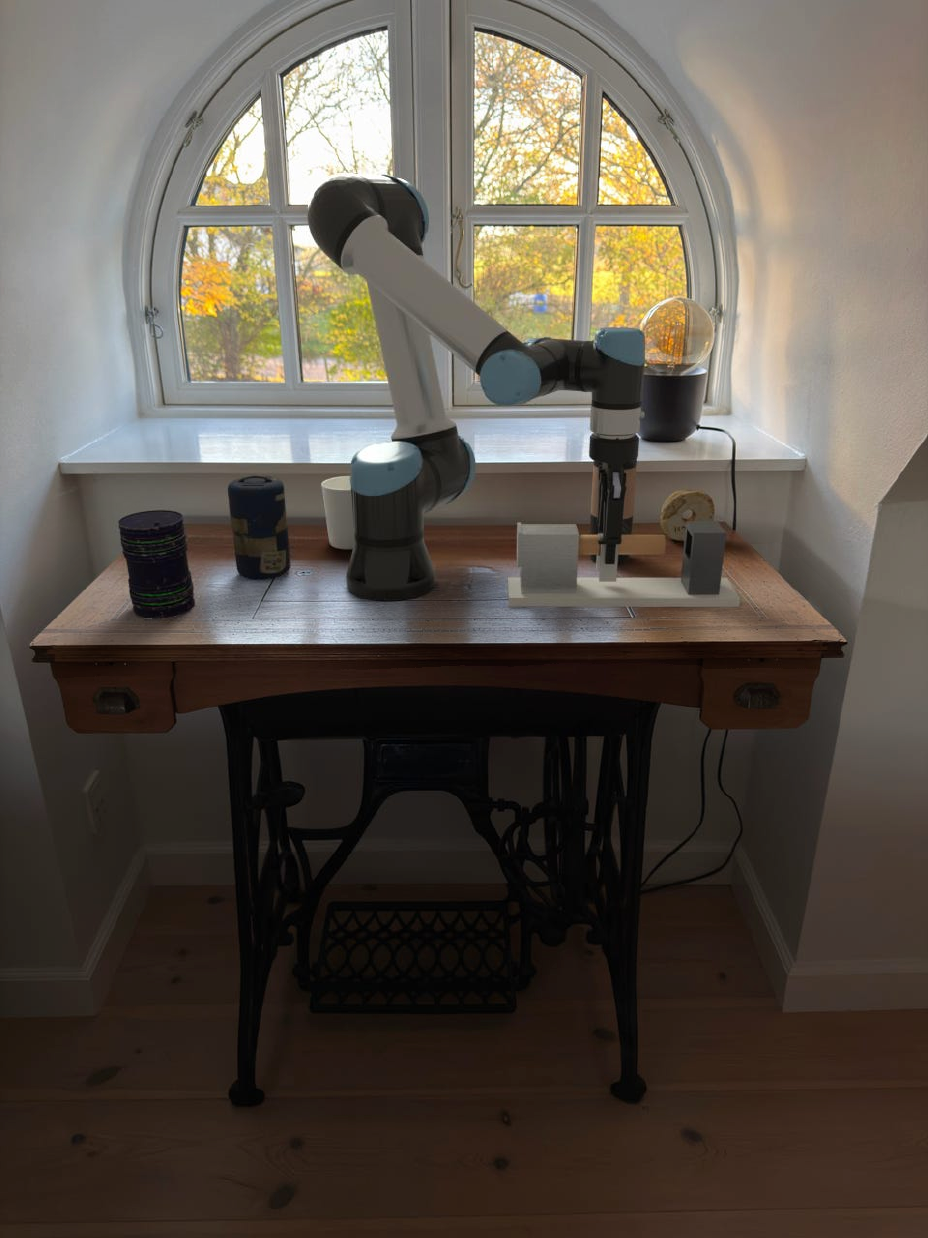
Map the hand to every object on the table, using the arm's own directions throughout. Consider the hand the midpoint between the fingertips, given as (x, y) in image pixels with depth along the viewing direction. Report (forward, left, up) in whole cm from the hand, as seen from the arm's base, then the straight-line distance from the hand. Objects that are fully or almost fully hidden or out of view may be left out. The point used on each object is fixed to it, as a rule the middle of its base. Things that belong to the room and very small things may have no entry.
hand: (605, 575), depth 146 cm
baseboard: (+2, 0, -4) cm, 4 cm away
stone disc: (+19, +29, -4) cm, 35 cm away
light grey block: (-10, 0, -2) cm, 10 cm away
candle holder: (-46, +27, -4) cm, 53 cm away
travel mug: (+3, +18, -4) cm, 19 cm away
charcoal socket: (+16, 0, -2) cm, 16 cm away
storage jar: (-72, -5, -4) cm, 72 cm away
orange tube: (-2, 0, +4) cm, 4 cm away
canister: (-59, +10, -4) cm, 60 cm away
